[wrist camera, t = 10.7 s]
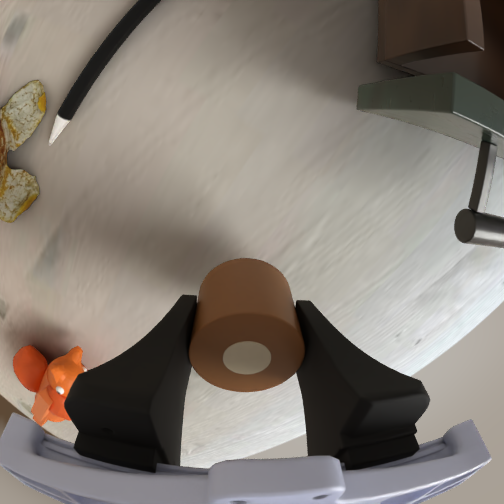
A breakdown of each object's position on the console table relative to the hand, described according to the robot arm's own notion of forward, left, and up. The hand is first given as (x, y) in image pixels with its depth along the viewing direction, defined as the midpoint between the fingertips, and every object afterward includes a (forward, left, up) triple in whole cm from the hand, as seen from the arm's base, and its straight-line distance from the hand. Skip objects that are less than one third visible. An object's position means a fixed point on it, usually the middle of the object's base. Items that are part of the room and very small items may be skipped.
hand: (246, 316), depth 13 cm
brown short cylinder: (0, 0, -1) cm, 1 cm away
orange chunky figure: (+15, +10, -4) cm, 18 cm away
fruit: (+15, -7, -4) cm, 17 cm away
